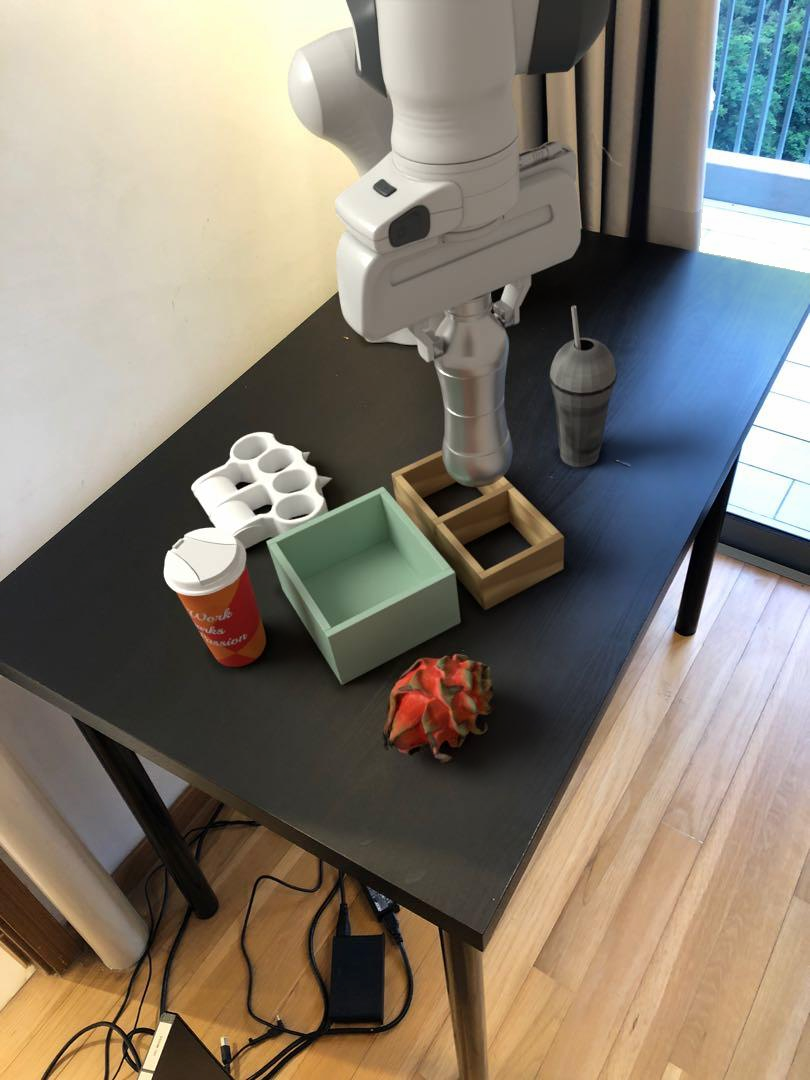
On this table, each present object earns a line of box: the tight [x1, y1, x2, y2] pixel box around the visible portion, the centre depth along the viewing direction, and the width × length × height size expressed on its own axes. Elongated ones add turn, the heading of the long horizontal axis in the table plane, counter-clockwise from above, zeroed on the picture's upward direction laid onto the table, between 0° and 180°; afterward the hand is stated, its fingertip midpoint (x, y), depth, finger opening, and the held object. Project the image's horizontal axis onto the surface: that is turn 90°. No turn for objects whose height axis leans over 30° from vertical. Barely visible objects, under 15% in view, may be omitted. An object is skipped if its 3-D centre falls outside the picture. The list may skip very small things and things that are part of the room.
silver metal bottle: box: [432, 292, 514, 488], centre depth 77 cm, size 6×7×20 cm
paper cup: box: [163, 527, 267, 668], centre depth 85 cm, size 8×8×14 cm
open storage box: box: [266, 486, 462, 686], centre depth 88 cm, size 15×14×8 cm
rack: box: [391, 449, 565, 611], centre depth 95 cm, size 19×10×5 cm, turn 29°
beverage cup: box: [548, 305, 618, 468], centre depth 96 cm, size 7×7×20 cm
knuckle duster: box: [191, 431, 333, 550], centre depth 103 cm, size 3×18×15 cm
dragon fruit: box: [382, 653, 495, 764], centre depth 78 cm, size 8×8×12 cm
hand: (469, 339), depth 73 cm, fingers closed on silver metal bottle, 6 cm apart
